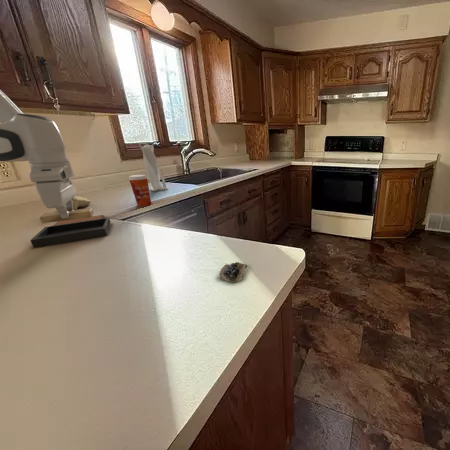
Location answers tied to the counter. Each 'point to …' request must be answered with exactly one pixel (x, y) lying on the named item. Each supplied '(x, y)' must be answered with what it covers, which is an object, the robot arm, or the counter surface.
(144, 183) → the paper cup
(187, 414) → the counter surface
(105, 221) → the tray
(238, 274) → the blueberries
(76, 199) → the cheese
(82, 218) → the brown flat block
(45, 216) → the board
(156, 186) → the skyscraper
